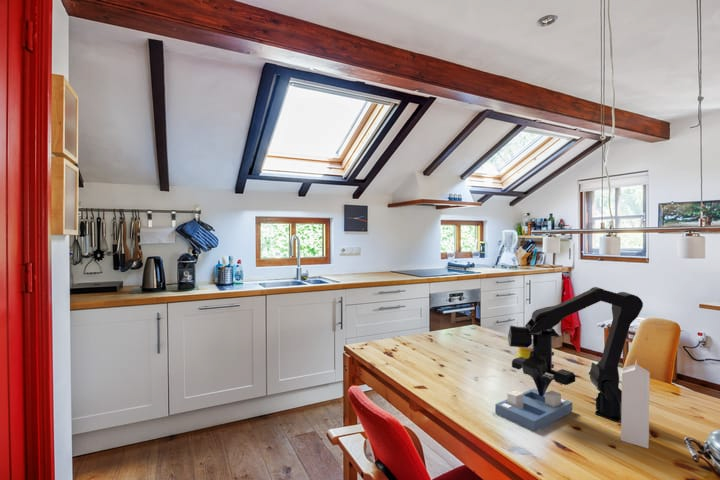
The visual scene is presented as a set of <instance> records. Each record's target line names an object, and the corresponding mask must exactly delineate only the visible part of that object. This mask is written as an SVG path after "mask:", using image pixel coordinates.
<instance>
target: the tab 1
mask: <svg viewBox="0 0 720 480" xmlns="http://www.w3.org/2000/svg"><path fill="white" fill-rule="evenodd" d="M523 393H524V392H520V391H519V390H515V389H514V390H512V391H509V392H507V399H508V404H509V405H512V406H514V407H516V408H519V409H521V410H522V409H523Z"/></svg>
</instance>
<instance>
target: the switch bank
mask: <svg viewBox="0 0 720 480" xmlns="http://www.w3.org/2000/svg"><path fill="white" fill-rule="evenodd" d="M522 393H523V409H522V410H521V409H519V408H516V407H514V406H512V405H509V404H508V398H506V399H504V400H502V401H500V402H497V403H495V404H494V405H495V411H494V413H495V415H498V416H501V417H502V418H505V420H506V419H507V420H508V421H511V422H513V423H515V424H518V425H519V426H522V427H523V428H526V429H528V430H530V431H532V432H536V431H538V430H540V429H541V428H542V429H543V427H547V425H550V424H552V423H553V422H555V421H558V420H559V419H561V418H563V417H565V416H567V415H569V414H571V413H572V412H573V402H572V401H570V400H566V399H564V398H562V397H561V405H560V406H558V407H556V408H554V407H552V406H549V405H547V404H545V394H544V396H540V395H539V393H538V390H537V388H532V389H529V390H527V391H525V392H522Z"/></svg>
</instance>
